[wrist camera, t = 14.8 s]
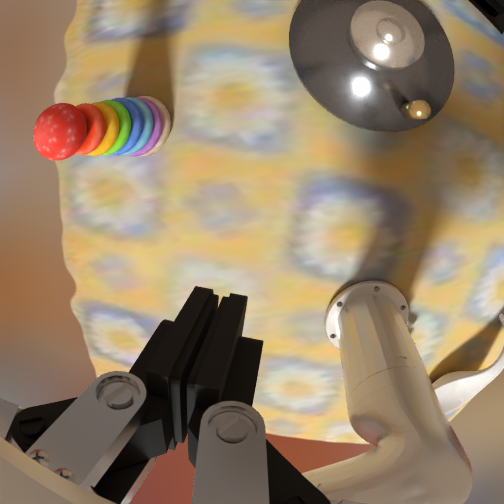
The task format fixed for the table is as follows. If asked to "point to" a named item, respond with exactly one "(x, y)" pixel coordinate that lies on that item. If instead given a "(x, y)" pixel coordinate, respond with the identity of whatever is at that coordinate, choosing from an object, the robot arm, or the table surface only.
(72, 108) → the stacking toy
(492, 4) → the black mechanical part
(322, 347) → the table surface
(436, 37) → the turntable
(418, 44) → the cover
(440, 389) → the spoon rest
